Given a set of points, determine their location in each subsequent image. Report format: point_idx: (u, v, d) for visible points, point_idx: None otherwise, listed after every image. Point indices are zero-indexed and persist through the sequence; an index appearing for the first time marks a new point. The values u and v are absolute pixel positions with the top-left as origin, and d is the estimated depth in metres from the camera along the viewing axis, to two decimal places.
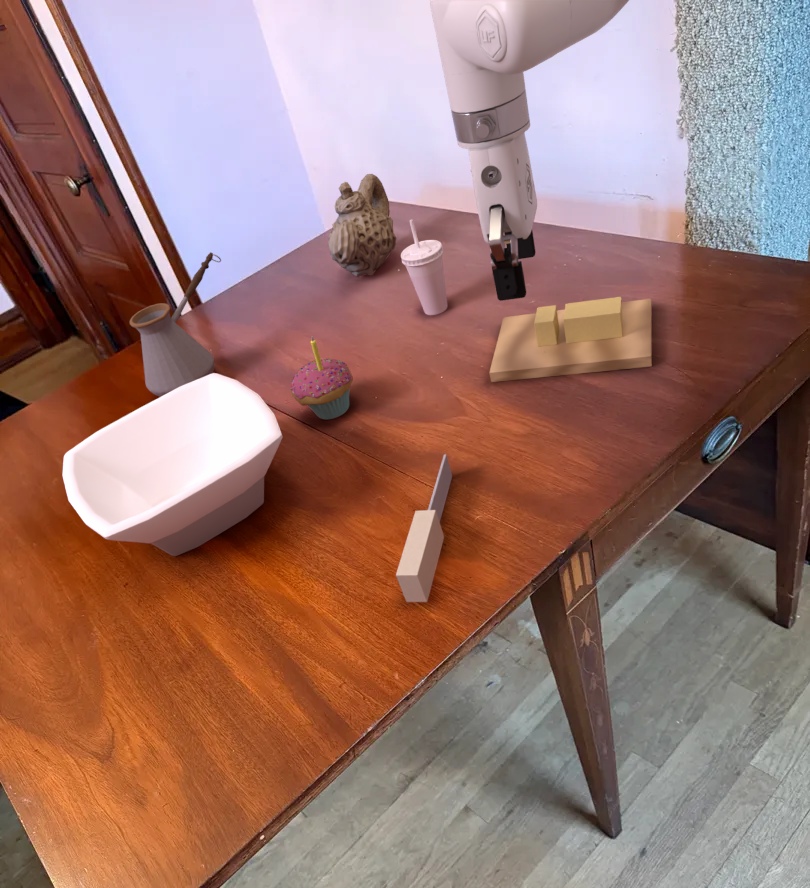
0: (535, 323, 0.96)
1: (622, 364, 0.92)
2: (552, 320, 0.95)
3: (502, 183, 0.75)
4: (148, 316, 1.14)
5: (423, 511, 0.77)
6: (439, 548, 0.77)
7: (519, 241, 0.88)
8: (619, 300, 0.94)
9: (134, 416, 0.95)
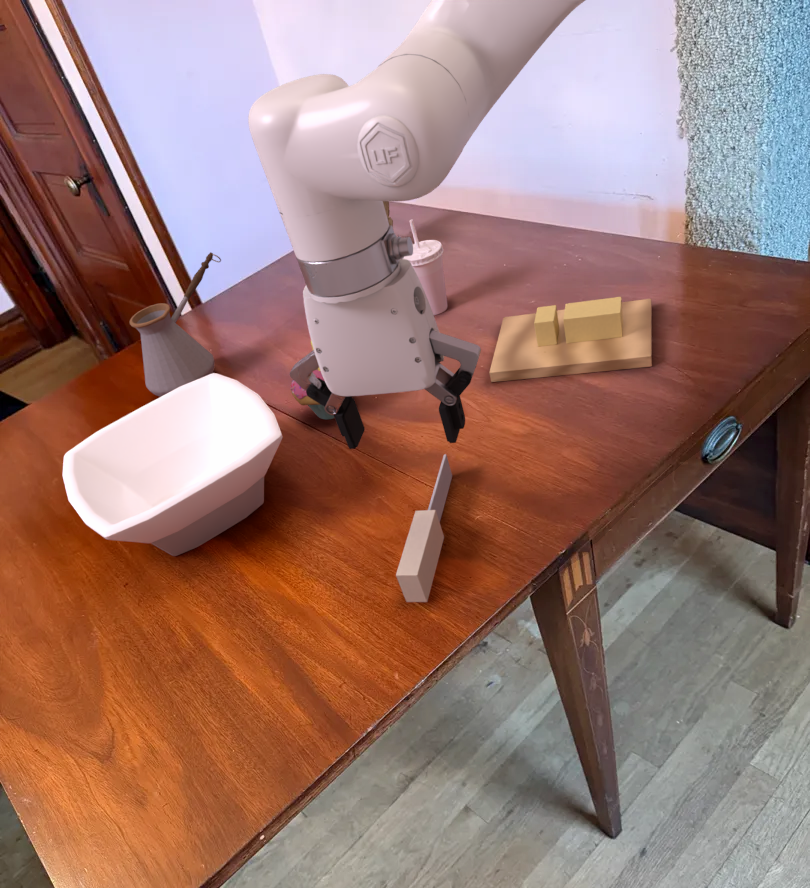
0: (535, 323, 0.96)
1: (622, 364, 0.92)
2: (552, 320, 0.95)
3: (426, 302, 0.60)
4: (148, 316, 1.14)
5: (423, 511, 0.77)
6: (439, 548, 0.77)
7: (354, 420, 0.69)
8: (619, 300, 0.94)
9: (134, 416, 0.95)
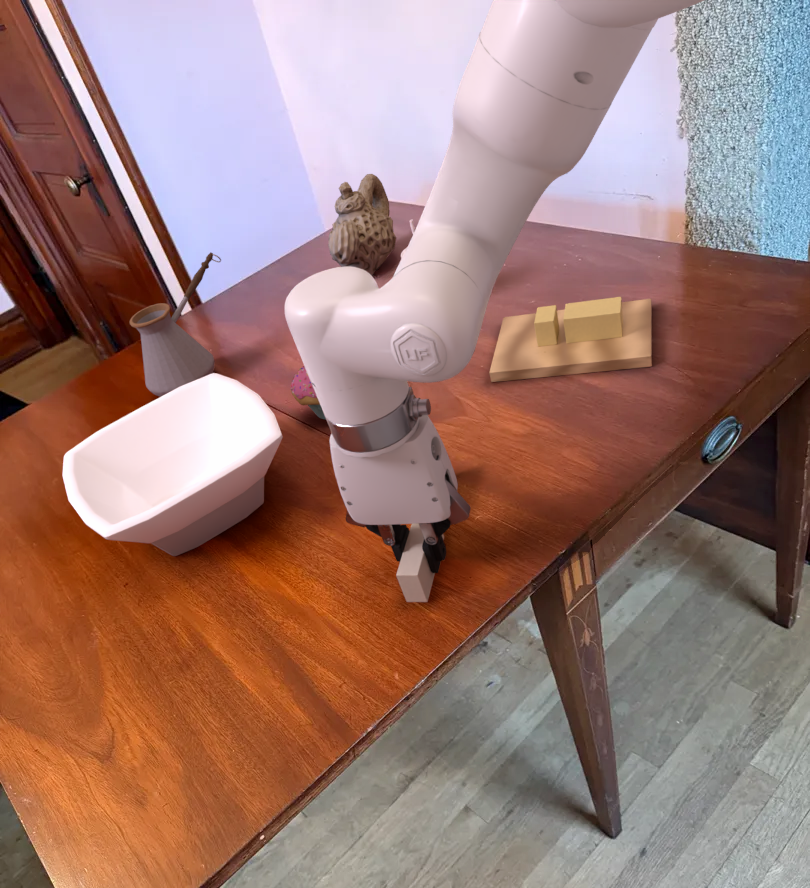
0: (535, 323, 0.96)
1: (622, 364, 0.92)
2: (552, 320, 0.95)
3: (442, 447, 0.66)
4: (148, 316, 1.14)
5: None
6: None
7: None
8: (619, 300, 0.94)
9: (134, 416, 0.95)
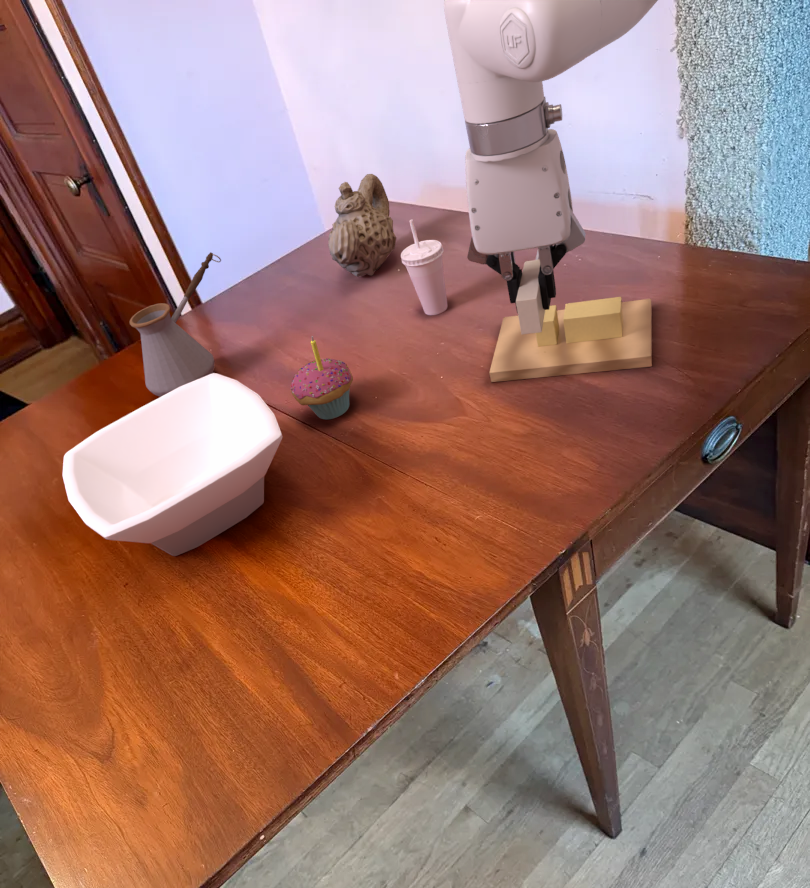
0: None
1: (622, 364, 0.92)
2: (552, 320, 0.95)
3: (565, 166, 0.73)
4: (148, 316, 1.14)
5: (532, 260, 0.84)
6: None
7: None
8: (619, 300, 0.94)
9: (134, 416, 0.95)
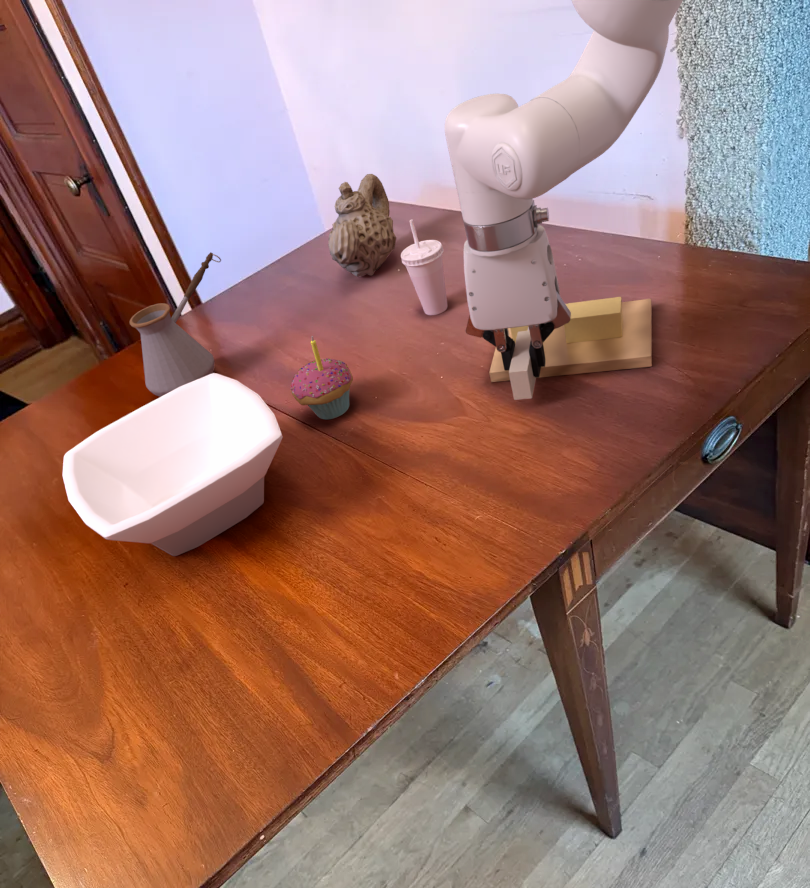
0: None
1: (622, 364, 0.92)
2: None
3: None
4: (148, 316, 1.14)
5: (524, 331, 0.94)
6: None
7: None
8: (619, 300, 0.94)
9: (134, 416, 0.95)
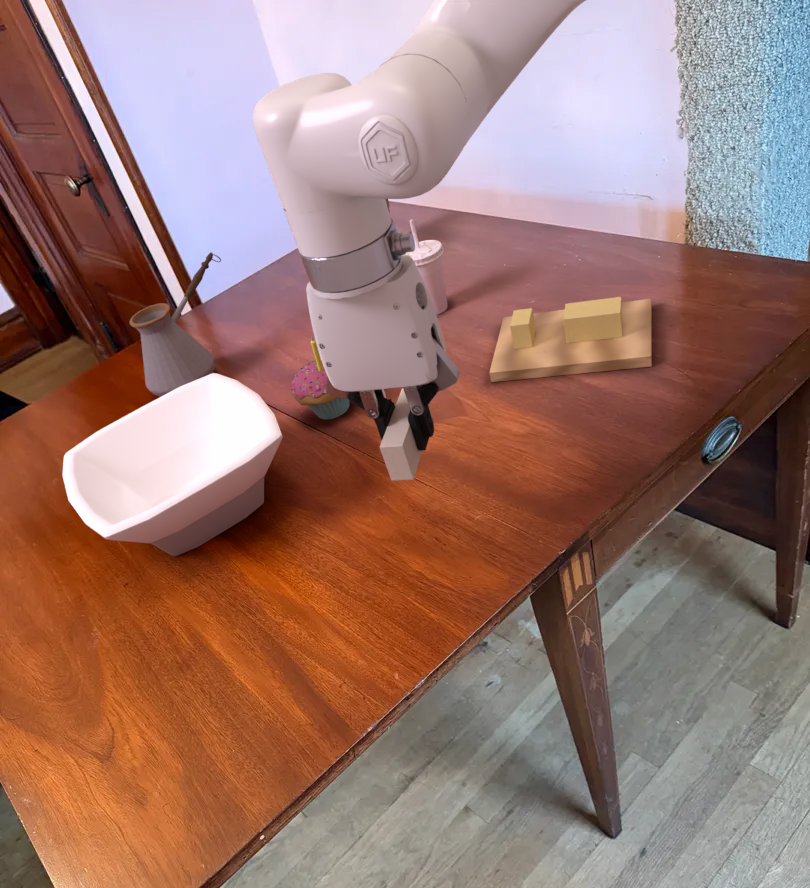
0: (511, 326, 0.97)
1: (622, 364, 0.92)
2: (527, 323, 0.96)
3: (428, 298, 0.61)
4: (148, 316, 1.14)
5: None
6: None
7: None
8: (619, 300, 0.94)
9: (134, 416, 0.95)
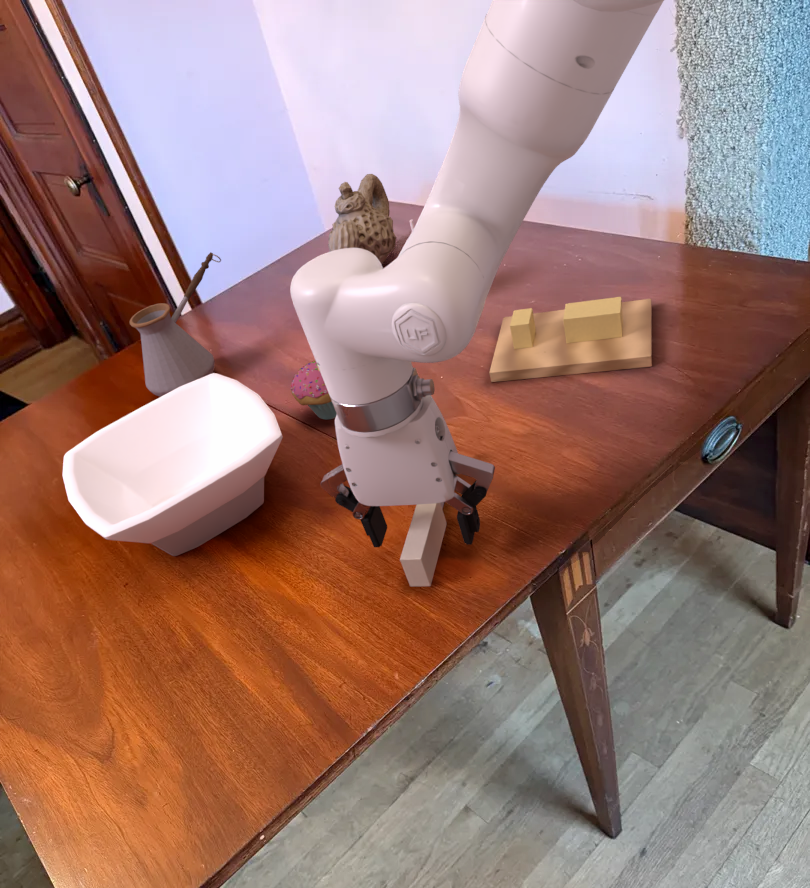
0: (511, 326, 0.97)
1: (622, 364, 0.92)
2: (527, 323, 0.96)
3: (445, 428, 0.67)
4: (148, 316, 1.14)
5: None
6: (442, 534, 0.79)
7: (378, 522, 0.76)
8: (619, 300, 0.94)
9: (134, 416, 0.95)
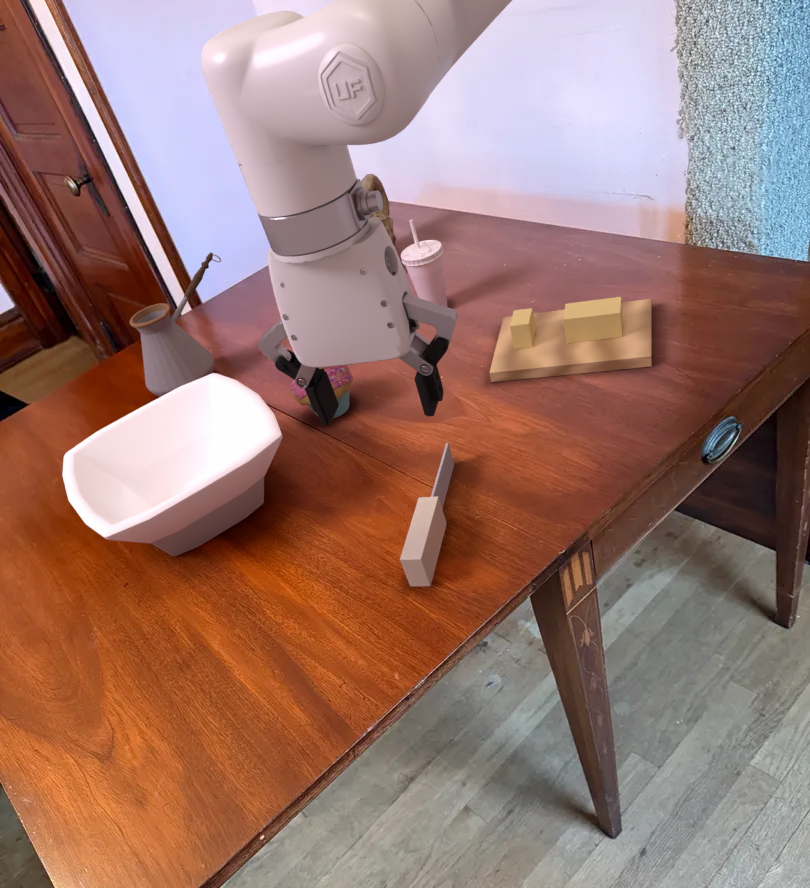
0: (511, 326, 0.97)
1: (622, 364, 0.92)
2: (527, 323, 0.96)
3: (399, 264, 0.56)
4: (148, 316, 1.14)
5: (426, 497, 0.78)
6: (442, 534, 0.79)
7: (327, 394, 0.66)
8: (619, 300, 0.94)
9: (134, 416, 0.95)
